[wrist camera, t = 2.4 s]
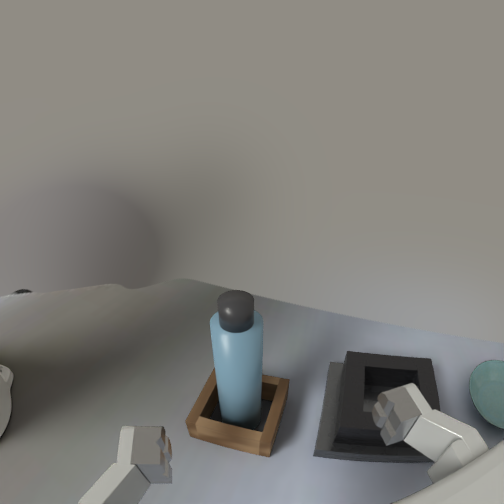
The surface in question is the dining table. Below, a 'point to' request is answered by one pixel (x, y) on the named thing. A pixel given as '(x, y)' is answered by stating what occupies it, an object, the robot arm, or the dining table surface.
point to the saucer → (489, 391)
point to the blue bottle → (238, 358)
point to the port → (369, 406)
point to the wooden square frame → (234, 435)
